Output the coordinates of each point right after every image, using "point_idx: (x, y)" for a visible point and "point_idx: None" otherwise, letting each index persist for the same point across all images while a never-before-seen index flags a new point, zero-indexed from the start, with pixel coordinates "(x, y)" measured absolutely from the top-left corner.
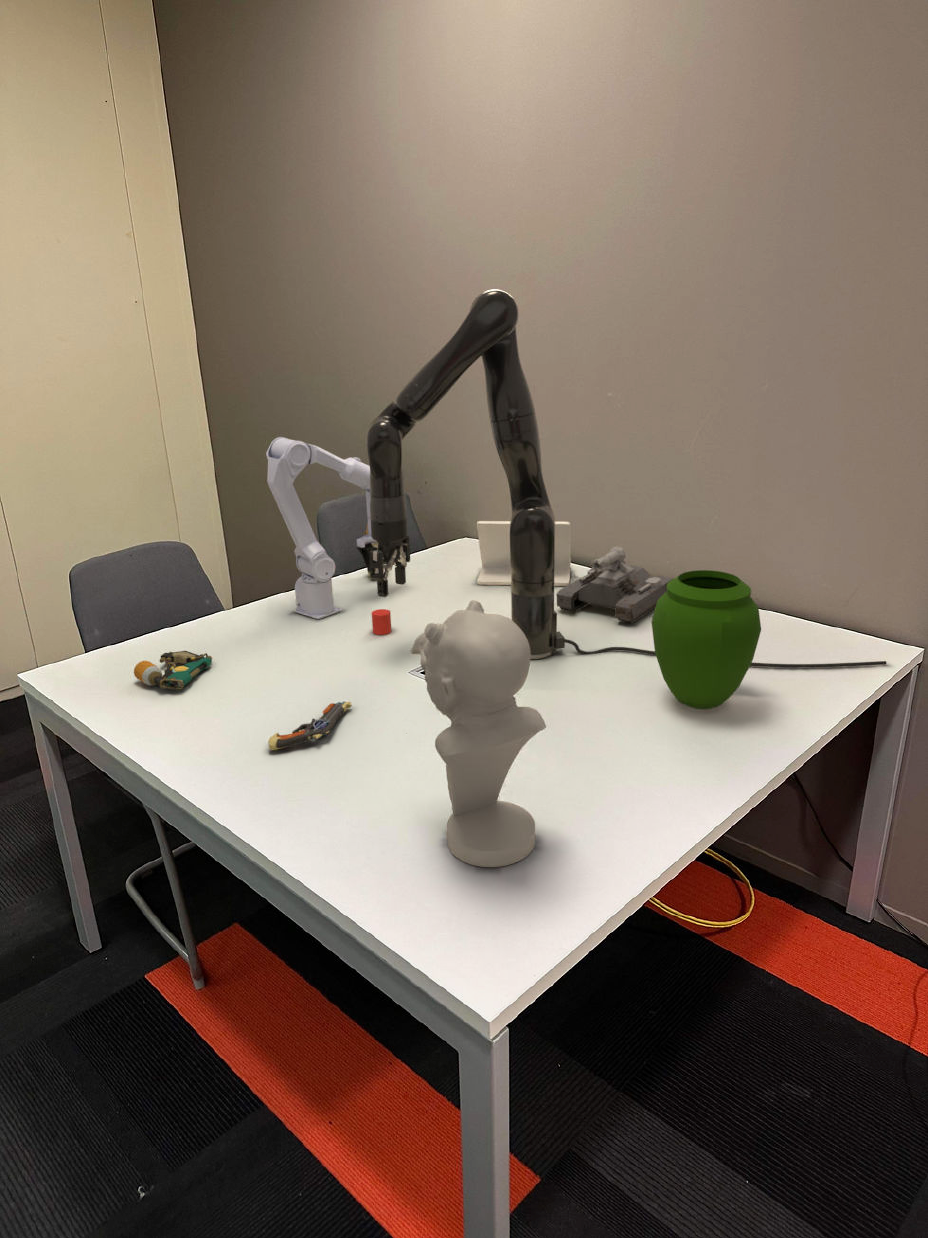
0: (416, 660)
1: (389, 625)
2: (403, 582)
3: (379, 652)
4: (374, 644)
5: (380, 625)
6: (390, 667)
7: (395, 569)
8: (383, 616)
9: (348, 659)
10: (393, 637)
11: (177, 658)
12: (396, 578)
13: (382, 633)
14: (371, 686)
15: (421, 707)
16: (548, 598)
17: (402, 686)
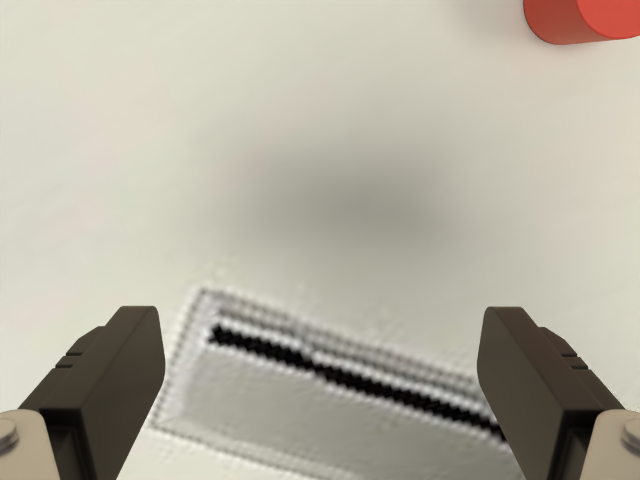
0: (305, 273)
1: (574, 42)
2: (484, 379)
3: (331, 105)
4: (409, 37)
5: (546, 6)
6: (214, 214)
7: (550, 400)
8: (579, 19)
9: (217, 4)
10: (506, 85)
11: None
12: (505, 339)
13: (530, 18)
14: (45, 223)
15: None
16: None
17: (98, 314)
